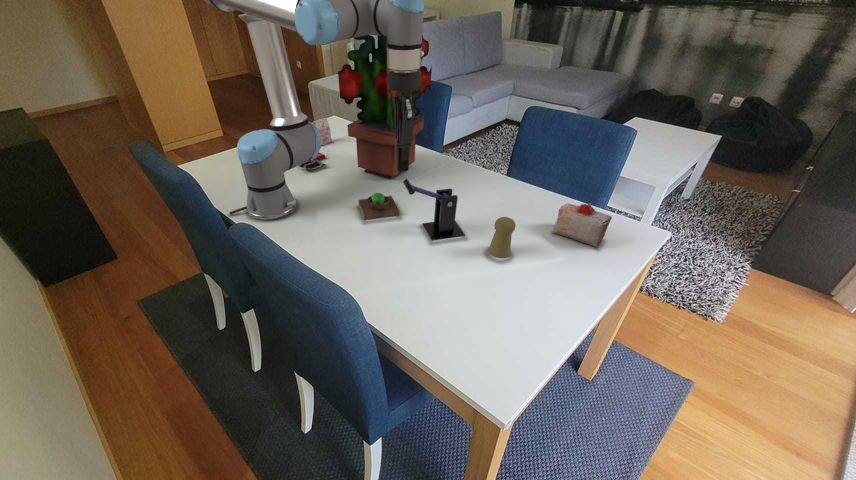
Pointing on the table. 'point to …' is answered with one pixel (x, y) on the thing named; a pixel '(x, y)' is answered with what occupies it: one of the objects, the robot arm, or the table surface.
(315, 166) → the red board with handle
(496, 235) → the tan pawn
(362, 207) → the switch block
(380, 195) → the green button
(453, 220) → the lever bracket
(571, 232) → the food item
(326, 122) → the white cardboard box
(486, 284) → the table surface
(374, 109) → the potted plant
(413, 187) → the lever
